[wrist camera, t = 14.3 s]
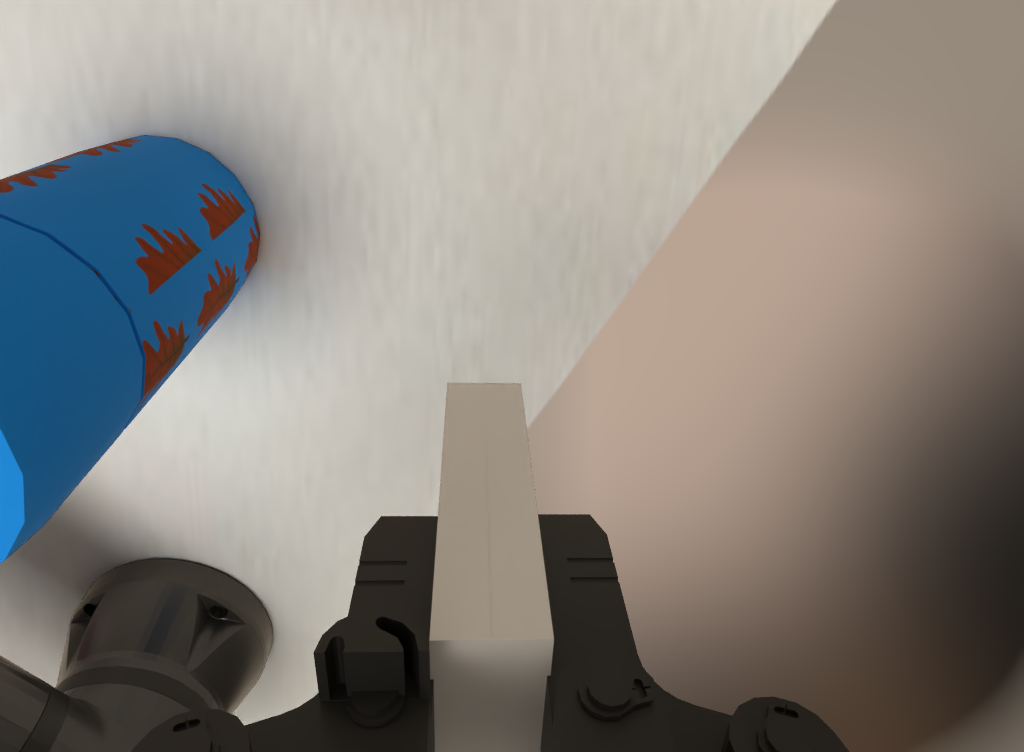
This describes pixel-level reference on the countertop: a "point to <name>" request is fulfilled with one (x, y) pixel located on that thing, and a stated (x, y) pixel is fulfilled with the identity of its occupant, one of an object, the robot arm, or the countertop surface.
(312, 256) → the countertop surface
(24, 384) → the thermos
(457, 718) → the robot arm
